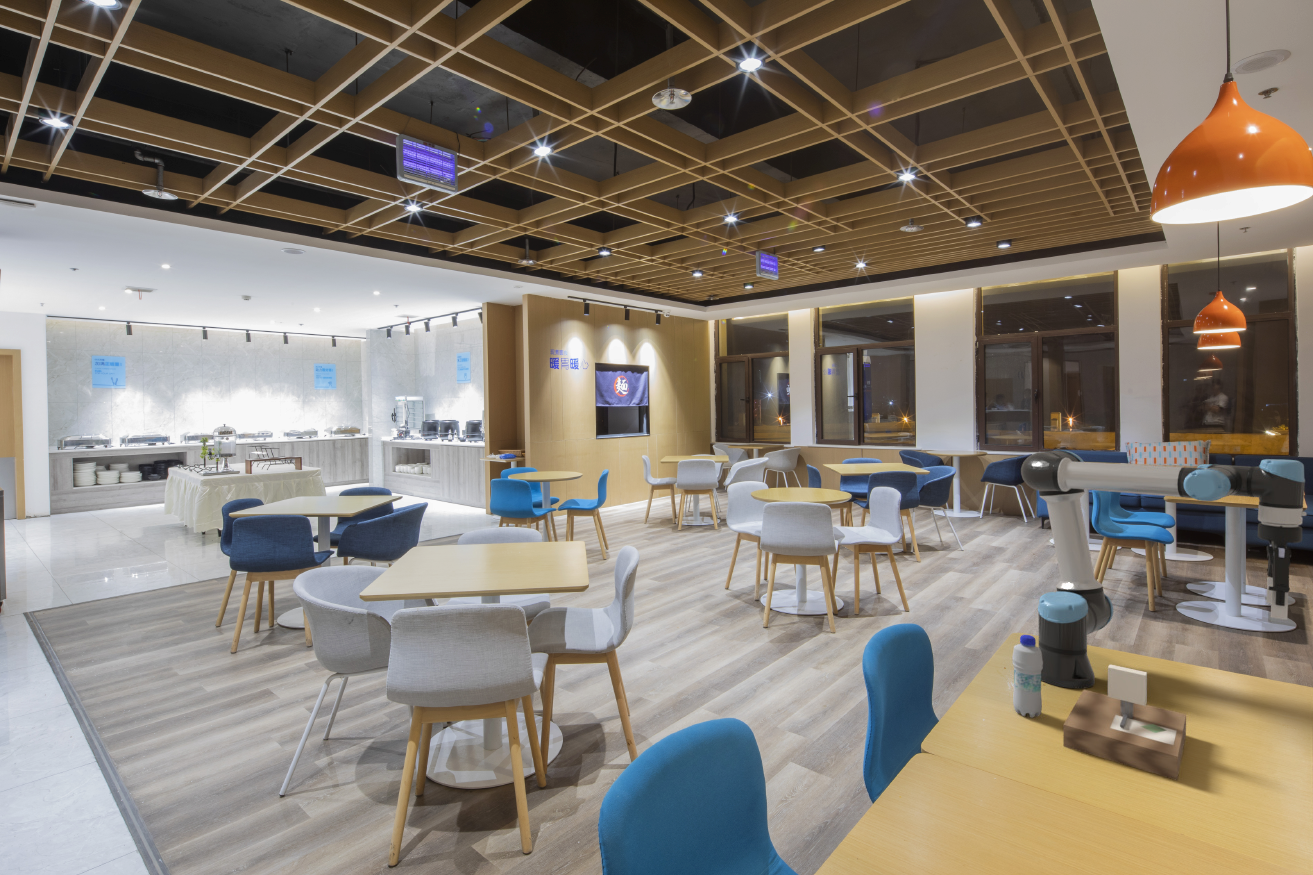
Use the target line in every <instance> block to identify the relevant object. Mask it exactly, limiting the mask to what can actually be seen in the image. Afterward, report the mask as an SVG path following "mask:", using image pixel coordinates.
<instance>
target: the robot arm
mask: <svg viewBox="0 0 1313 875" xmlns="http://www.w3.org/2000/svg"><path fill="white" fill-rule="evenodd" d="M1020 474H1021V478H1022V480H1023V481H1024V483H1025V484H1026V485H1027V486H1028V487H1029V488H1031V489H1033V490H1035V491H1038V495H1039V498H1041V499H1042V500H1044V501H1045V502H1046V507H1047V511H1048V517H1049V518H1048V519H1049V523H1050V528H1051V533H1052V538H1053V543H1054V544H1053V545H1054V550H1055V555H1056V556H1055V557H1056V560H1057V565H1058V571H1059V578H1060V581H1059V582H1058V583H1057V584H1056V586H1055V587H1056V591H1051V592H1050V591H1049V592H1046V593H1044V594H1042V595H1041V596H1040V597H1039V600H1038V606H1037V611H1038V646H1037V647H1038V648H1039V649H1040V650H1041V653H1042V660H1043V665H1042V667H1043V669H1042V670H1041V682H1044V683H1046V684H1050V685H1054V686H1056V687H1062V688H1069V689H1089V688H1091V687H1093V686H1094V685H1095V682H1096V681H1095V673H1094V670H1093V666H1092V665H1091V662H1090V659H1089V657H1088V635H1090V634H1092V633H1094V632H1096V631H1100V630H1102V629H1103V628H1105V627H1106V626H1107V625H1108V624H1110V623H1111V621H1112V619H1113V617H1114V612H1115V611H1114V605H1113V602H1112V601H1111V599H1110V597H1109V596H1108V595H1106V594H1105V593H1104V592H1105V591H1104V587H1103V584H1102V583H1101V582H1099V581H1098V580H1097V579H1096V578H1095V573H1094V567H1093V562H1092V557H1091V550H1090V547H1089V546H1090V545H1089V540H1088V535H1087V531H1086V526H1085V521H1084V515H1083V514H1084V513H1083V509H1082V505H1081V504H1082V503H1081V498H1082V496H1083V495H1084V494H1085V490H1087V491H1088V490H1089V491H1102V492H1112V493H1113V492H1114V493H1128V494H1138V495H1151V496H1164V497H1177V498H1186V499H1194V500H1197V501H1201V502H1214V501H1218V500H1221V499H1222V498H1226V497H1229V496H1233V497H1235V496H1236V497H1250V498H1258V500H1259V501H1258V508H1257V509H1258V513H1257V514H1258V515H1257V520H1258V521H1259V523H1258V524H1257V538H1259V539H1260V540H1263V541H1267V542H1268V543H1269V545H1267V546H1266V553H1267V569H1266V572H1267V574H1266V575H1267V578H1266V582H1267V584H1266V600H1265V601H1266V604H1268V605H1270V618H1271V619H1277V620H1284V621H1288V611H1289V592H1290V591H1291V588H1290V566H1291V557H1292V549H1291V548H1290V547H1288V544H1290V543H1291V544H1299V543H1300V542H1302V541H1303V528H1302V526H1301V525H1303V517H1306V516H1307V512H1306V511H1303V510H1304V509H1303V508H1304V496H1305V485H1306V484H1305V483H1306V479H1305V465H1304V464H1303V462H1301V461H1300V460H1296V459H1294V460H1293V459H1278V458H1277V459H1273V458H1271V459H1269V458H1266V459H1262V460H1261V461H1260V464H1259V465H1258V466H1245V465H1227V464H1217V463H1214V464H1211V463H1210V464H1207V463H1206V464H1204V463H1202V464H1199V465H1198V466H1197V467H1186V466H1185V467H1183V466H1164V465H1144V464H1143V465H1142V464H1126V463H1124V464H1123V463H1109V462H1108V463H1107V462H1106V463H1105V462H1089V461H1087V462H1085V461H1084V460H1083V459H1082V457H1080V456H1079V455H1077V454H1076V453H1074V452H1072V451H1070V450H1069V451H1068V450H1063V449H1058V450H1057V449H1055V450H1050V451H1041V452H1036V453H1032V454H1031V455H1029V456H1028V457H1027V458H1026V459H1025V460H1024V461H1023V463H1022V465H1021V468H1020Z"/></svg>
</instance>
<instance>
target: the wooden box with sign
mask: <svg viewBox="0 0 1313 875" xmlns="http://www.w3.org/2000/svg"><path fill="white" fill-rule="evenodd" d="M1120 706H1121V700H1119V699H1115V698H1111V697H1108V694H1105V693H1104V694H1103V693H1100V692H1095V691H1091V690H1086V689H1083V690H1082V691H1081V693H1080V695H1079V697H1078V699H1077V700H1076V701H1075V703H1074V706H1073V708H1071V711H1070V713H1069V714H1068V716H1067V718H1066V719H1065V721H1064V723H1063V741H1062V742H1063V747H1065V748H1069V749H1072V750H1074V751H1078V752H1081V753H1085V754H1088V755H1091V756H1095V757H1098V758H1102V759H1105V760H1109V761H1112V762H1115V763H1118V764H1122V765H1125V766H1128V767H1131V768H1134V769H1138V770H1141V771H1144V772H1147V773H1148V772H1149V773H1151V774H1155V775H1158V776H1162V777H1164V778H1169V779H1172V780H1174V781H1178V780H1179V773H1180V768H1181V764H1182V757H1183V753H1184V747H1185V742H1186V738H1187V737H1186V736H1187V714H1186V713H1182V712H1178V711H1173V710H1170V709H1165V708H1162V707H1158V706H1153V705H1149V704H1146V706H1144V705H1140V704H1136V703H1133V718H1127V721H1126V723H1125V726H1124V728H1123V727H1120V723H1121V721H1122V718H1123V716H1122V715H1121V714H1120Z"/></svg>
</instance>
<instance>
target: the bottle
mask: <svg viewBox="0 0 1313 875" xmlns="http://www.w3.org/2000/svg"><path fill="white" fill-rule="evenodd" d="M1036 640H1037V639H1036V638H1035V637H1034V636H1033V635H1030V634H1022V635H1020V638H1019V642H1020V643H1018V644H1015V645H1014V646H1013V651H1012V657H1011V658H1012V665H1013V695H1012V704H1013V708H1014V711H1015V713H1017V714H1021V716H1022V717H1026V714H1028V715H1029V717H1030V718H1034V717H1040V715H1041V713H1042V709H1043V704H1042V703H1043V700H1042V680H1041V670H1042V669H1043V667H1042V665H1043V660H1042V653H1041V650H1040V649H1039V648H1038V647H1039V646H1036V642H1037V641H1036Z"/></svg>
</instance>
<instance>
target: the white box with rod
mask: <svg viewBox="0 0 1313 875" xmlns="http://www.w3.org/2000/svg"><path fill="white" fill-rule="evenodd" d="M1147 686H1148V672H1147V671H1142V670H1138V669H1132V668H1128V667H1125V666H1119V665H1114V664H1109V665H1108V667H1107V695H1108V697H1111V698H1115V699H1119V700H1121V706H1120V714H1121V715H1122V716H1123V718H1122V721H1121V723H1120V727H1123V728H1124V726H1125V723H1126V721H1127V718H1133V703H1136V704H1140V705H1144V706H1146V705H1147V703H1148V702H1147V697H1148V695H1147V694H1148V693H1147V692H1148V691H1147V690H1148V687H1147Z"/></svg>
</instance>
